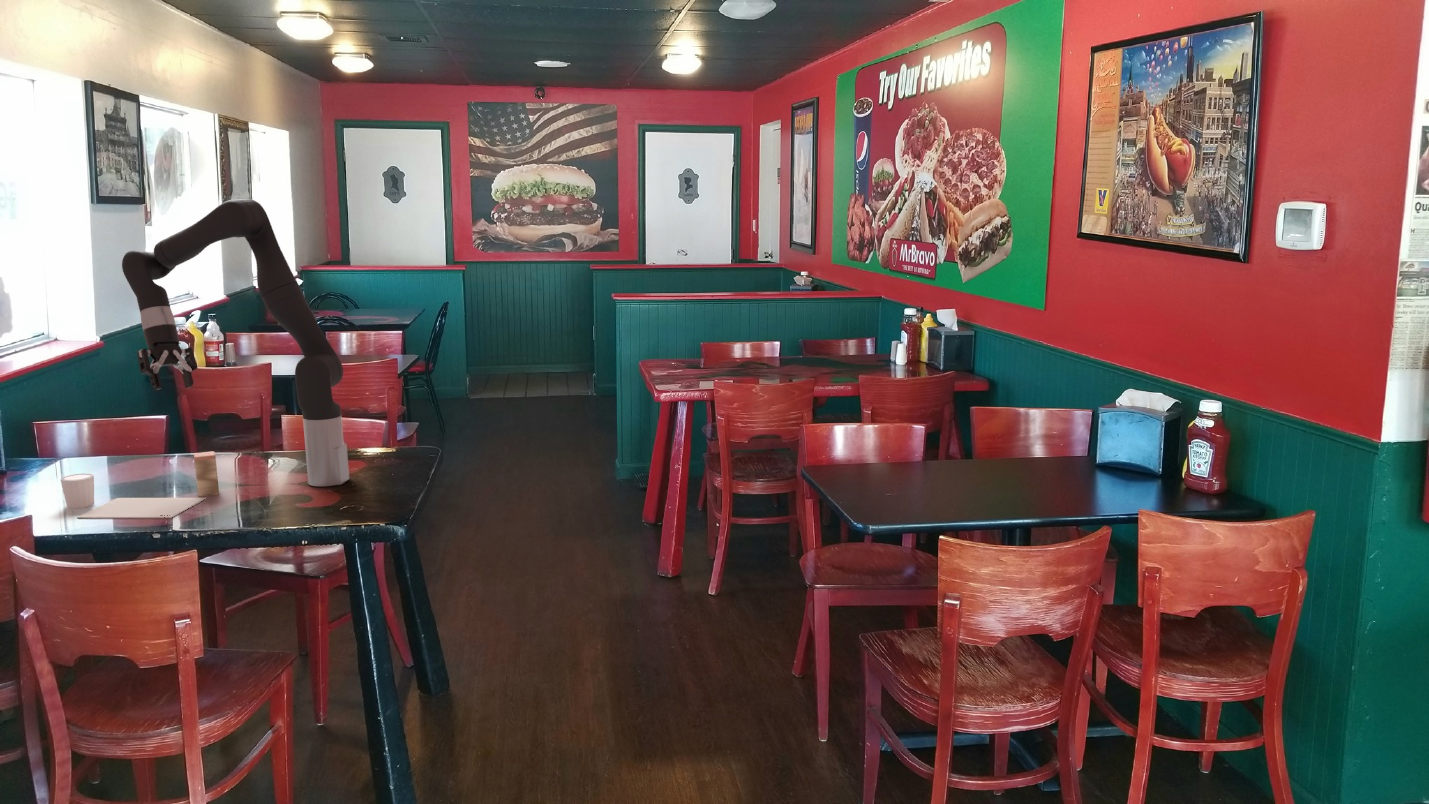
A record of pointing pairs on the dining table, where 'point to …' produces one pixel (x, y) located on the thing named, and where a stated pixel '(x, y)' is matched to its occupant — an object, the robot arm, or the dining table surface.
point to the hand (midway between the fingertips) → (174, 388)
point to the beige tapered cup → (78, 490)
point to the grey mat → (142, 508)
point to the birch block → (206, 473)
